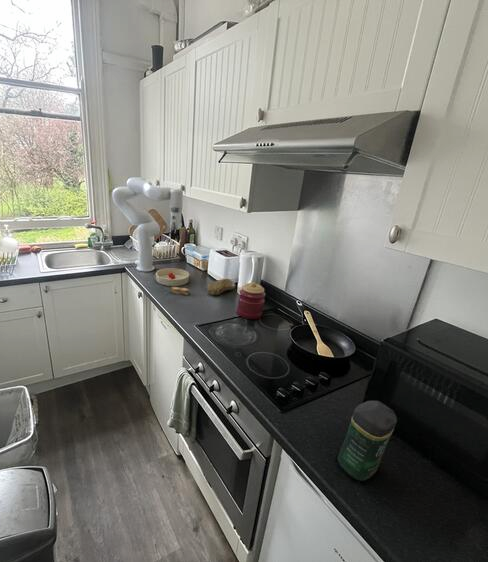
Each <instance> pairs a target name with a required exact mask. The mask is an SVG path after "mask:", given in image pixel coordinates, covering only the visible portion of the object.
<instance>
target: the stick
mask: <svg viewBox="0 0 488 562" xmlns="http://www.w3.org/2000/svg"><path fill="white" fill-rule="evenodd" d="M170 294H177V295H183V296H189V294H190V288H185V287H179V286H171V288H170Z"/></svg>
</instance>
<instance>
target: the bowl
mask: <svg viewBox="0 0 488 562" xmlns="http://www.w3.org/2000/svg"><path fill="white" fill-rule="evenodd" d="M169 273H173V275H175V279H171V278H170V277H169V276H168V275H169ZM155 281H156V282H157V284H160V285H162V286H167V287H180V286H181V287H182V286H184V285H186V284H188V283H189V282H190V272H189V271H187V270H184V269H181V268H176V267H175V268H173V267H168V268H167V267H166V268H161V269H159V270H157V271H156V272H155Z"/></svg>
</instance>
